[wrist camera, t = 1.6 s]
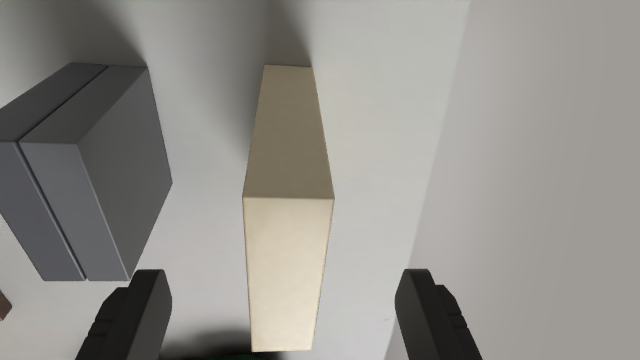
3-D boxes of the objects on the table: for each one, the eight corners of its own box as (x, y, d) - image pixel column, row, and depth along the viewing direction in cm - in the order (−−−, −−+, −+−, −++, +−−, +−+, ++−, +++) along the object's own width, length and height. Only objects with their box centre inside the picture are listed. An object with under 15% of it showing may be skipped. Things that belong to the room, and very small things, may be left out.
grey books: (69, 62, 16) (-49, 138, 10) (148, 66, 16) (76, 143, 11) (111, 181, 20) (42, 282, 15) (173, 183, 20) (130, 281, 15)
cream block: (263, 63, 17) (241, 196, 9) (313, 66, 17) (335, 198, 9) (265, 191, 21) (251, 352, 13) (303, 192, 22) (312, 350, 14)
